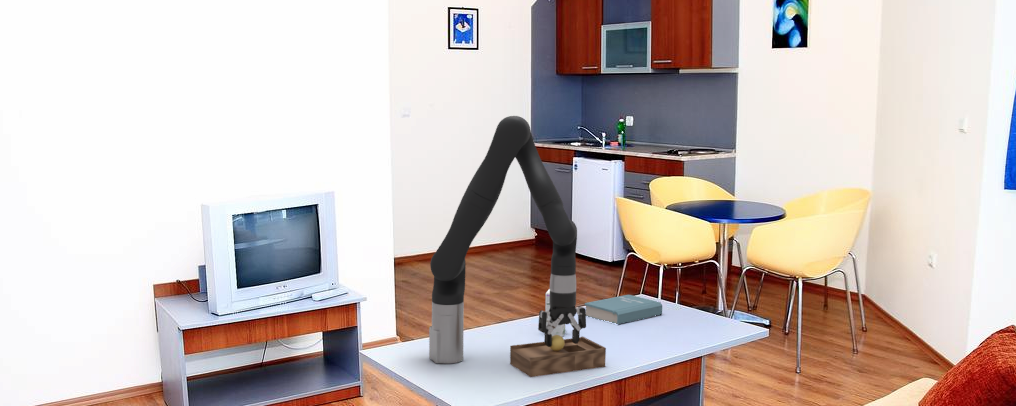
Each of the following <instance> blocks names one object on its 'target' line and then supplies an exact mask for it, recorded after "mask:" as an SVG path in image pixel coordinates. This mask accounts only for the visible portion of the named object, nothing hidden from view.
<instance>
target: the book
mask: <svg viewBox="0 0 1016 406" xmlns="http://www.w3.org/2000/svg"><path fill="white" fill-rule="evenodd" d="M584 306H585V309H586V317H587V316H588V317H587V318H590V317H592V318H591V319H594V318H595V320H598V319H599V320H598V321H601V320H603V321H602V322H605V321H609V322H612V323H616V324H619V325H622V324H621V323H624V324H626V323H625V322H628V323H631V322H630V321H633V322H635V321H634V320H637V321H639V320H638V319H641V320H644V319H643V318H646V319H648V318H647V317H650V318H652V317H651V316H655V315H659V316H661V315H660V314H662V315H663V304H662V303H661V302H660V301H656V300H653V299H649V298H644V297H641V296H636V295H631V294H623V295H619V296H615V297H614V296H613V297H609V298H605V299H599V300H594V301H590V302H588V301H587V302H585V303H584ZM655 317H656V316H655ZM604 320H605V321H604ZM612 323H611V324H612Z"/></svg>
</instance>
